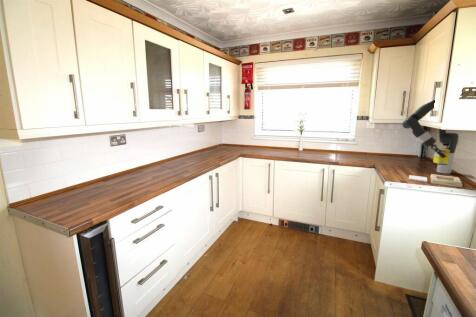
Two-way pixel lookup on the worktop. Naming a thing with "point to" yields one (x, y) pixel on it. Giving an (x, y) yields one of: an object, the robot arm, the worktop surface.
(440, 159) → the supplement box
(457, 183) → the puzzle board
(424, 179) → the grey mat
